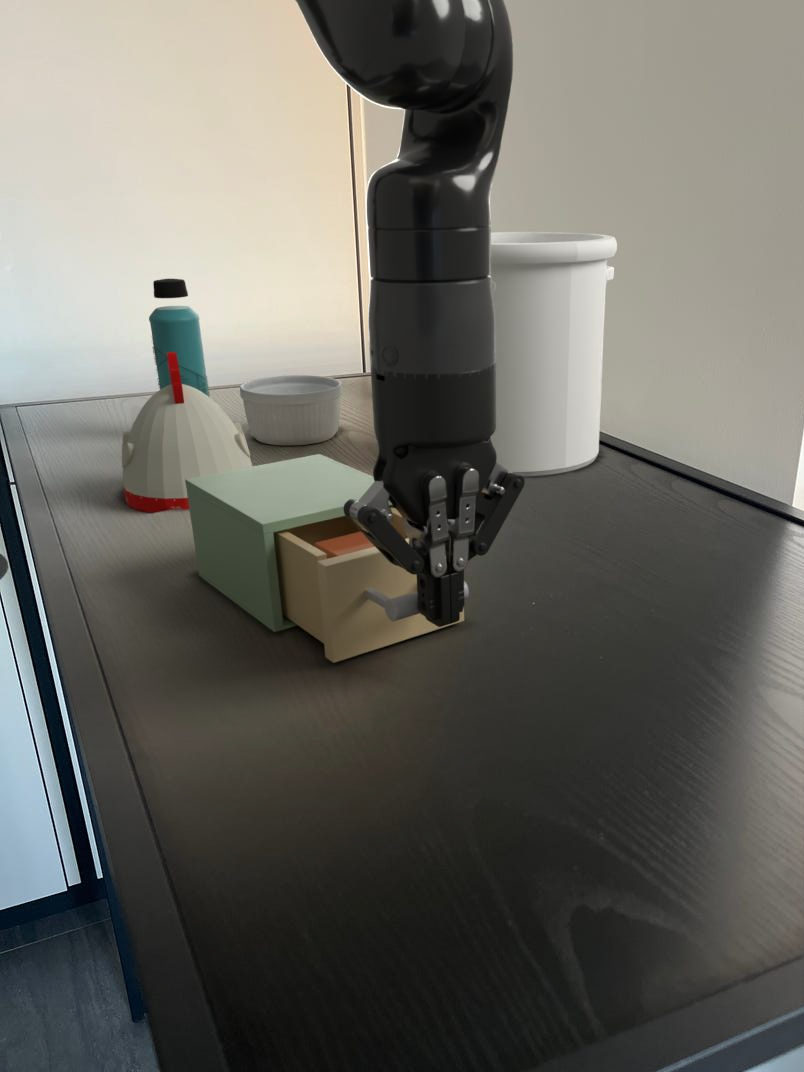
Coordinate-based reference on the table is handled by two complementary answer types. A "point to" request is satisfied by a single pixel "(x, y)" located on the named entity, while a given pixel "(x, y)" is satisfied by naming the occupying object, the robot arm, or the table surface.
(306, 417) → the ramekin
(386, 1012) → the table surface
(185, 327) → the beverage bottle
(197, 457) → the kitchen timer
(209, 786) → the table surface
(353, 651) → the drawer
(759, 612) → the table surface
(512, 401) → the bucket
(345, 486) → the cabinet
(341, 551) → the block
